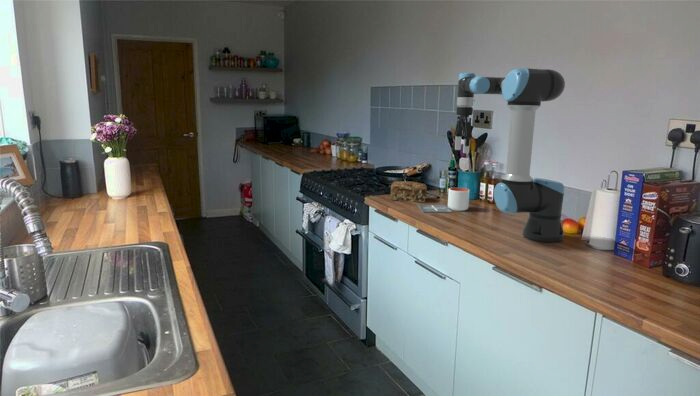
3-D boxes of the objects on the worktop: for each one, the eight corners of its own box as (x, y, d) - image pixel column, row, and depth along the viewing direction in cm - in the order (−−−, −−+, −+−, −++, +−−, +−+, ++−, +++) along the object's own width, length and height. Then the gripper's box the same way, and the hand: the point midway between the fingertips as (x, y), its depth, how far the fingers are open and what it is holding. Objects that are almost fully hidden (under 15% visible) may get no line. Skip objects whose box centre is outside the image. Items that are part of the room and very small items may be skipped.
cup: (470, 211, 227) (471, 191, 225) (449, 211, 228) (450, 191, 225) (465, 207, 237) (467, 187, 235) (445, 206, 237) (447, 187, 235)
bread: (389, 200, 248) (390, 182, 246) (392, 196, 259) (393, 179, 256) (425, 203, 244) (426, 184, 242) (426, 199, 255) (427, 181, 252)
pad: (452, 212, 224) (452, 211, 224) (423, 212, 223) (423, 211, 223) (444, 206, 238) (444, 204, 238) (417, 206, 237) (417, 204, 237)
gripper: (481, 107, 210) (477, 154, 214) (464, 106, 234) (461, 148, 239) (465, 107, 209) (461, 154, 214) (450, 105, 234) (447, 148, 238)
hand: (461, 151), depth 226 cm, fingers open, 13 cm apart
